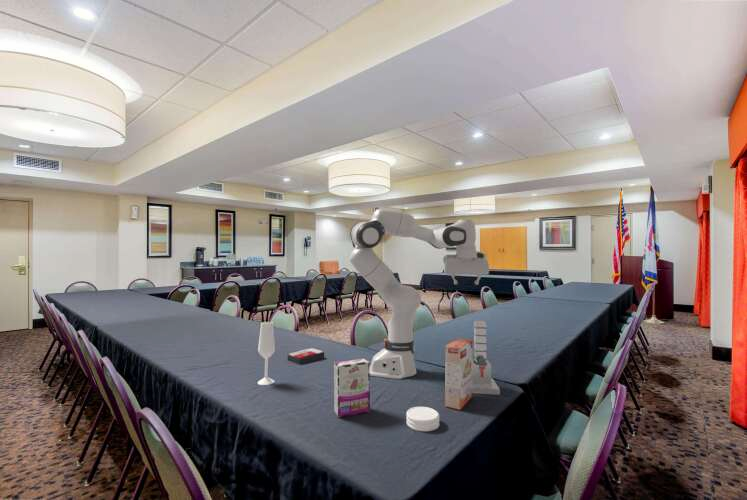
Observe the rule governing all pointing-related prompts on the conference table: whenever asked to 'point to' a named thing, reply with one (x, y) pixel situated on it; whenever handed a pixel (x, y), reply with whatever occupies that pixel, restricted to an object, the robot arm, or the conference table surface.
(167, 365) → the conference table surface
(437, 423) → the coaster
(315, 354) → the flat red white box
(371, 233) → the robot arm
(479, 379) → the housing
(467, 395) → the cracker box
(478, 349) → the column
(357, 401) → the candy bar box
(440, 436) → the conference table surface
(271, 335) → the champagne flute
